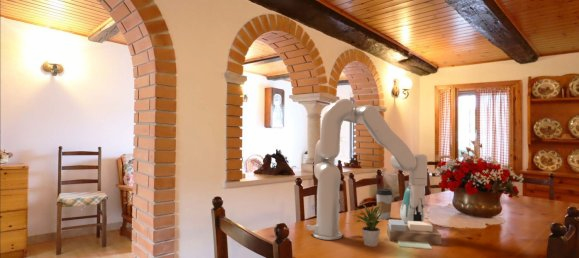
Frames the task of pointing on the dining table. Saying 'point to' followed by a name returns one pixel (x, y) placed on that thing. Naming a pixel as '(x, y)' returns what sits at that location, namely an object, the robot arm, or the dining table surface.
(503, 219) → the dining table surface
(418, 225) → the cream block
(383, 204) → the coffee cup
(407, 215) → the vase
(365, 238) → the house plant
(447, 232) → the dining table surface
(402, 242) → the mat
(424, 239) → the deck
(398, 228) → the gray rectangular block
